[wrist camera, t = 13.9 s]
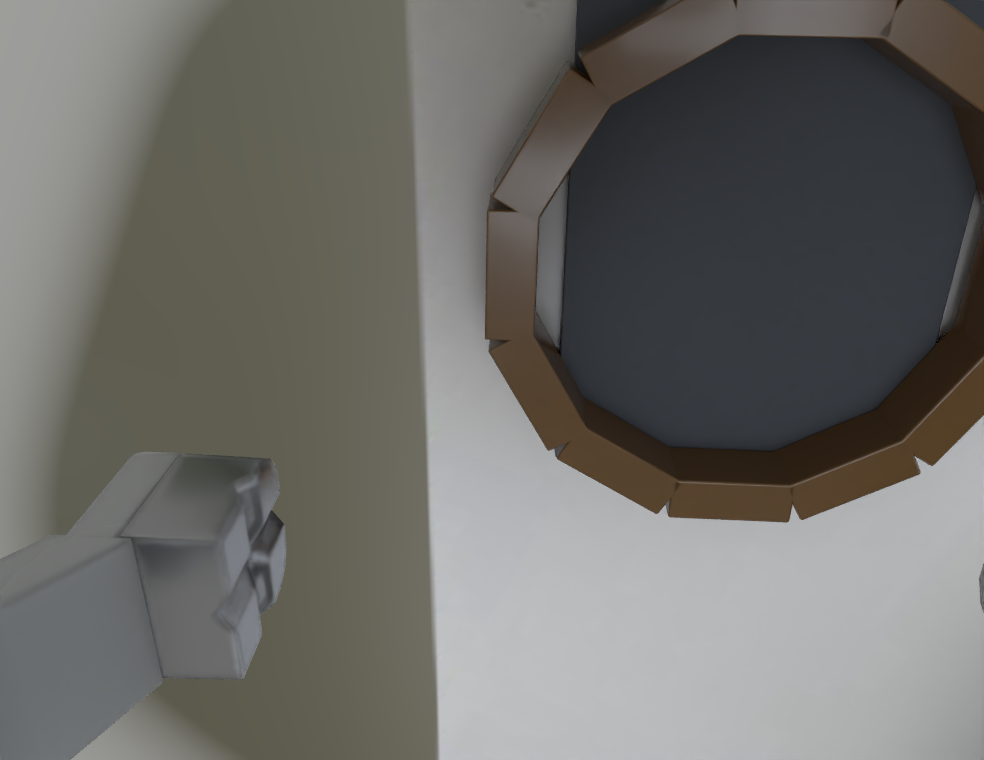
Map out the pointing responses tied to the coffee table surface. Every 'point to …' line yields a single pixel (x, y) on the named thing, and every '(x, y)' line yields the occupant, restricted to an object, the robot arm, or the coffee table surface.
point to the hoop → (723, 472)
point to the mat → (760, 238)
